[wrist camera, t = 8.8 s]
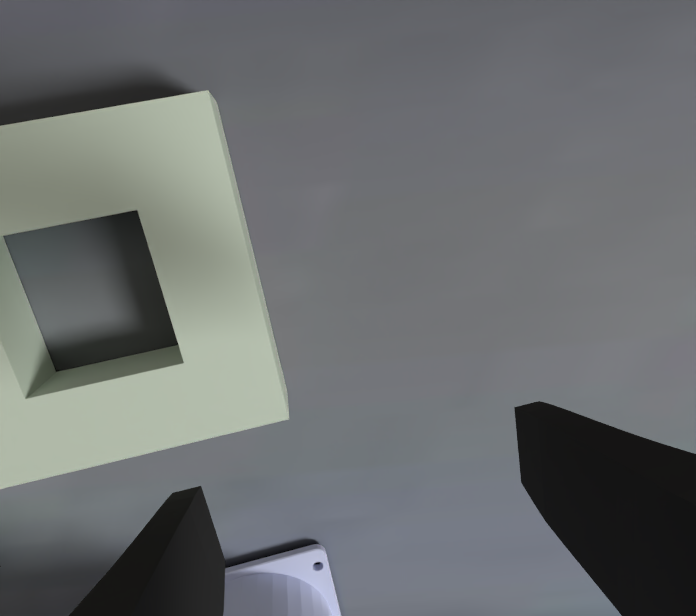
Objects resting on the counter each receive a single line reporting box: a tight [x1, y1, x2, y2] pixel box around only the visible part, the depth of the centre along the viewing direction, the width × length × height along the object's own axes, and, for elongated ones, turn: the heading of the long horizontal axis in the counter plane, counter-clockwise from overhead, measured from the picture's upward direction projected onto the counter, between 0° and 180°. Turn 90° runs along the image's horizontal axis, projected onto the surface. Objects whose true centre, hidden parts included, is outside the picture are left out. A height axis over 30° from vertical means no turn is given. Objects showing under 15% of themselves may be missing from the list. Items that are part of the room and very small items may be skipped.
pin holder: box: [0, 90, 289, 489], centre depth 17 cm, size 12×12×2 cm
